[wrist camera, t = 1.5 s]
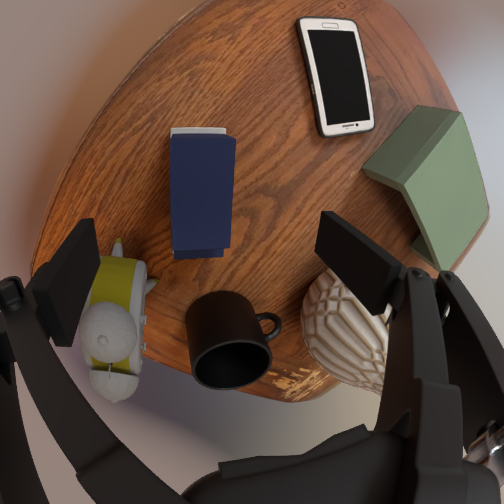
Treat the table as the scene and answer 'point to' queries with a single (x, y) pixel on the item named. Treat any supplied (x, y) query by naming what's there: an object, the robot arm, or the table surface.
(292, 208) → the table surface
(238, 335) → the mug
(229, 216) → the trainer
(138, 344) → the alarm clock
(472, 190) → the sage green footstool
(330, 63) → the cell phone
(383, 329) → the vase
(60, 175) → the table surface
